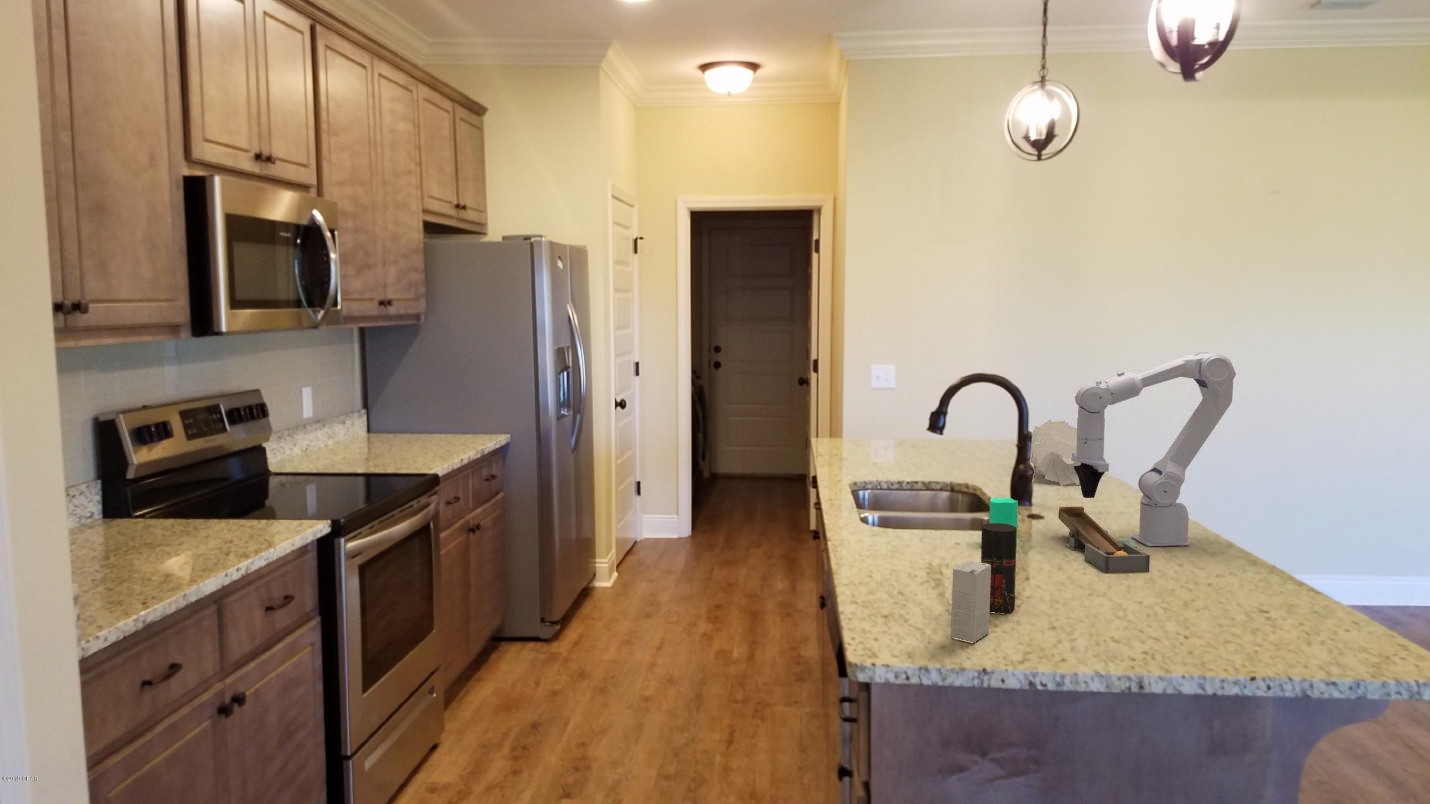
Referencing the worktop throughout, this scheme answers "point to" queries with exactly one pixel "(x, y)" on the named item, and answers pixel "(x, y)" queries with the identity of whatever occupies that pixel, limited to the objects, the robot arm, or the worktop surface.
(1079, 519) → the tilt board
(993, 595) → the deodorant
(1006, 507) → the candle
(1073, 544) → the pivot bracket
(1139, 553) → the tray
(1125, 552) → the ball
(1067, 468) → the spiral staircase
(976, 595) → the skincare box
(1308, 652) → the worktop surface
